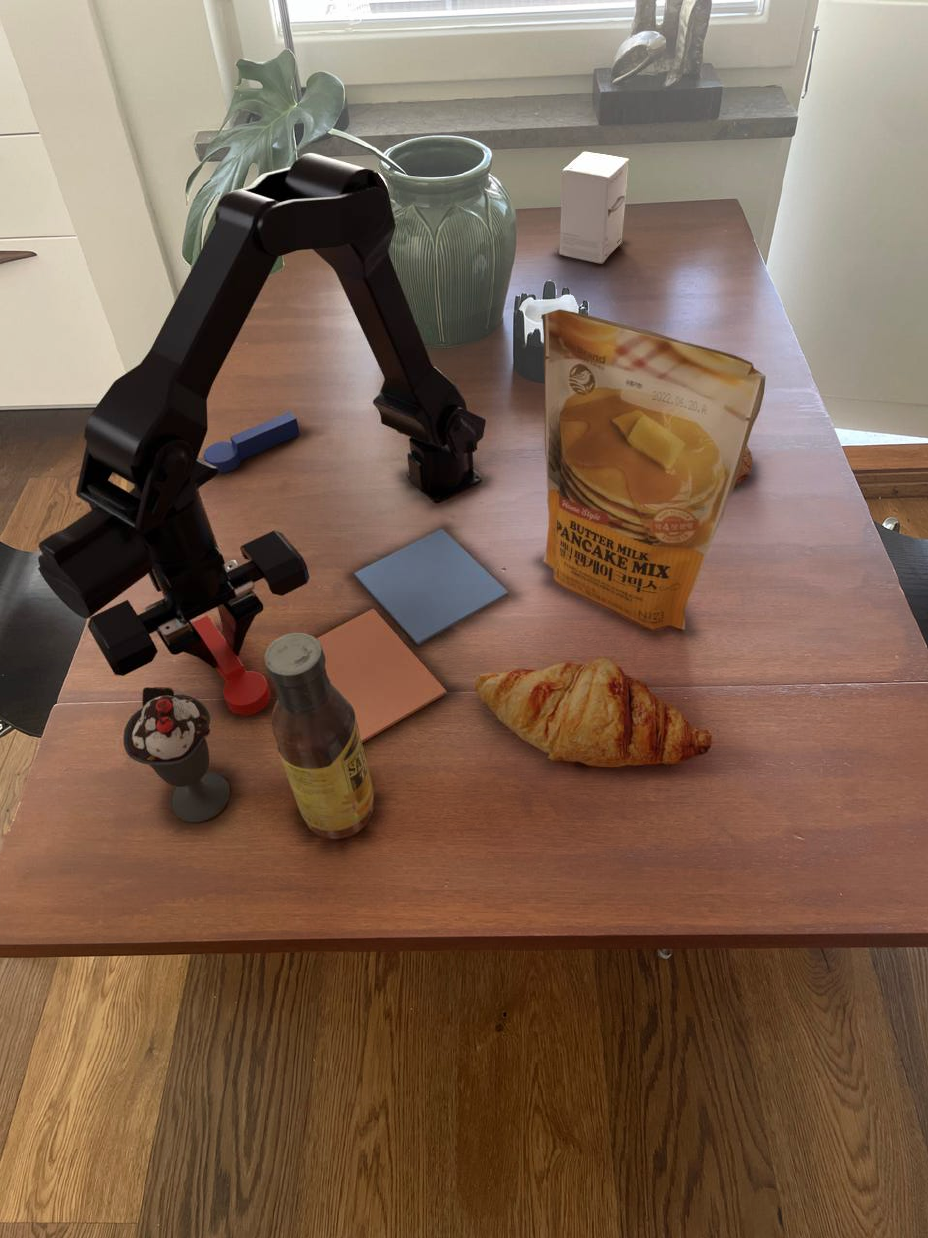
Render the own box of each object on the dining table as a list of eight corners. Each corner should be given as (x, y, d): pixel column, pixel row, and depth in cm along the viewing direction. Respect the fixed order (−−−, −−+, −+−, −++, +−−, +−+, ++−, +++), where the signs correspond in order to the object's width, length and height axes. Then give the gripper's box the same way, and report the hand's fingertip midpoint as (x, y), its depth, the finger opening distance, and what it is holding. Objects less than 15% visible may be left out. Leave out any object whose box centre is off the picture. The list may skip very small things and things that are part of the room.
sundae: (224, 838, 76) (172, 733, 65) (149, 825, 77) (85, 720, 66) (252, 770, 80) (207, 661, 69) (180, 759, 81) (125, 650, 70)
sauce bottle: (381, 834, 75) (345, 685, 61) (306, 850, 75) (251, 704, 60) (370, 768, 80) (334, 614, 65) (298, 783, 79) (245, 631, 64)
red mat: (373, 610, 92) (373, 608, 92) (446, 693, 85) (446, 690, 84) (285, 657, 89) (284, 655, 88) (353, 748, 81) (352, 745, 81)
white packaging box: (602, 265, 136) (608, 177, 127) (557, 255, 139) (560, 168, 130) (623, 243, 140) (630, 157, 131) (579, 234, 143) (583, 149, 134)
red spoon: (186, 644, 90) (180, 628, 89) (223, 625, 92) (217, 609, 90) (238, 723, 84) (232, 707, 82) (277, 701, 85) (272, 685, 83)
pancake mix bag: (556, 533, 98) (564, 288, 78) (718, 609, 90) (776, 357, 69) (519, 570, 95) (517, 324, 74) (684, 652, 87) (734, 401, 66)
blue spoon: (289, 423, 114) (285, 407, 112) (304, 438, 112) (300, 422, 110) (201, 460, 110) (196, 444, 108) (215, 477, 108) (210, 461, 106)
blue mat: (442, 530, 99) (441, 528, 99) (508, 594, 93) (508, 592, 92) (354, 575, 96) (354, 572, 95) (417, 645, 89) (417, 643, 88)
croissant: (467, 741, 85) (446, 729, 78) (496, 638, 87) (478, 616, 80) (698, 803, 79) (699, 796, 72) (723, 691, 81) (727, 672, 74)
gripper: (238, 448, 84) (273, 569, 95) (37, 534, 77) (101, 653, 89) (295, 512, 77) (325, 633, 89) (81, 612, 71) (144, 729, 83)
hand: (224, 659), depth 88 cm, fingers closed on red spoon, 2 cm apart
